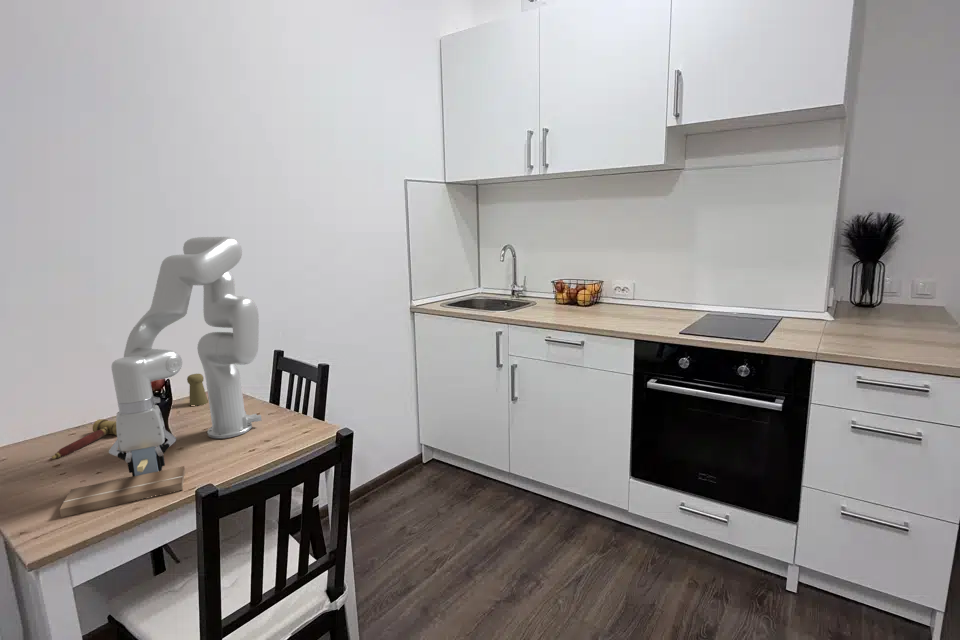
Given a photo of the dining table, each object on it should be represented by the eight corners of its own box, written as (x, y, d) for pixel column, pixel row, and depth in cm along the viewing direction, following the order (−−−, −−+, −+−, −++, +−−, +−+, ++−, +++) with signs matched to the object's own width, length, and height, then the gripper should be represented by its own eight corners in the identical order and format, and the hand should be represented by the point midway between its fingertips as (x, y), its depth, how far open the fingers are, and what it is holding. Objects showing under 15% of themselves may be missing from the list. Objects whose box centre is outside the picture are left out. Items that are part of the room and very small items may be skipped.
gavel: (64, 452, 144) (36, 449, 147) (68, 466, 146) (40, 464, 148) (129, 418, 164) (103, 416, 166) (132, 431, 165) (107, 429, 168)
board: (185, 473, 136) (184, 465, 136) (182, 490, 127) (181, 482, 127) (72, 496, 126) (71, 488, 126) (61, 517, 117) (59, 509, 117)
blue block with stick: (160, 467, 138) (156, 441, 138) (154, 479, 126) (150, 451, 126) (138, 471, 136) (134, 445, 136) (129, 484, 124) (125, 456, 124)
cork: (205, 399, 193) (201, 370, 191) (210, 403, 188) (205, 374, 186) (187, 403, 189) (183, 374, 187) (191, 407, 185) (187, 378, 182)
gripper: (176, 395, 138) (186, 458, 142) (98, 407, 131) (111, 473, 135) (174, 403, 132) (184, 469, 135) (92, 416, 124) (105, 486, 128)
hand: (147, 470), depth 135 cm, fingers closed on blue block with stick, 5 cm apart
